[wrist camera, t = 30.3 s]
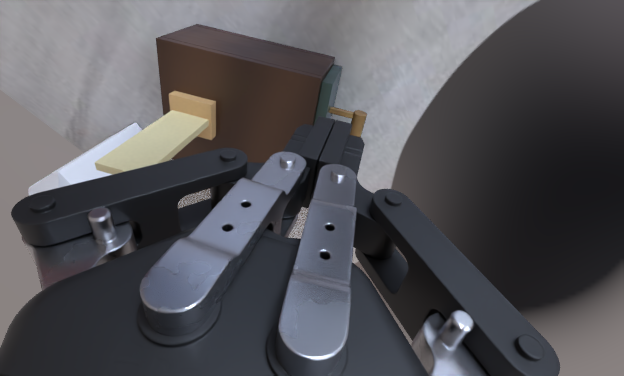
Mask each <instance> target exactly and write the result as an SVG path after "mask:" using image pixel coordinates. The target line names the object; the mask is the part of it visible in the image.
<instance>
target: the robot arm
mask: <svg viewBox="0 0 624 376" xmlns="http://www.w3.org/2000/svg"><path fill="white" fill-rule="evenodd" d="M351 128H352V124H350V123H346V122H342V121H338V120H336V122H335V120H333V119H329V118H325V117H321V116H319V117H318V119H317V120H316V122H315V124H314V126H312V125H307V124H304V125H302V126H300V127H298V128H297V129H296V131H295V132H294V134H293V135H292V137H291V139H290V140H289V142H288V143H287V145H286V147H285V148H284V150H283V151H282V152H278V153H275V154H273V155H272V156H271V157H270V158H269V159H268V160H267V161H266V163H253V162H248V158H247V155H246V154H245V153H244V152H243V151H241V150H238V149H235V148H220V149H216V150H212V151H208V152H203V153H199V154H195V155H191V156H187V157H183V158H179V159H175V160H171V161H166V162H162V163H158V164H154V165H150V166H146V167H142V168H138V169H134V170H129V171H125V172H121V173H117V174H113V175H109V176H105V177H101V178H97V179H92V180H88V181H84V182H80V183H76V184H72V185H68V186H64V187H60V188H55V189H51V190H47V191H43V192H39V193H36V194H33V195H30V196H28V197H26V198H24V199H22V200H21V201H19V202H18V203H17V204H16V205H15V206H14V207H13V209H12V212H11V215H12V217H13V220H14V221H15V223H16V225H17V227H18V229H19V231H20V233H21V235H22V240H23V242H24V244H25V246H26V248H27V250H28V251H29V253H30V255H31V257H32V259H33V261H34V262H35V264H36V266H37V269H38V274H39V279H40V283H41V288H42V291H41V292H40V293H38V294H37V295H36V296H34V297H33V298H32V299H31V300H30V301H29V302H28V303H27V304H26V305H25V306H24V307H23V308H22V309H21V310H20V311H19V312H18V314H17V315H16V316H15V318H14V319H13V321H12V323H11V324H10V326H9V328H8V331H7V333H6V335H5V338H4V340H3V343H2V345H1V348H0V376H558V374H559V371H560V363H559V360H558V357H557V355H556V353H555V351H554V349H553V348H552V347H551V345H550V344H549V343H548V342H547V341H546V339H545V338H544V337H543V336H541V334H540V333H539V332H538V331H537V330H536V329H535V328H534V327H533V326H532V325H531V324H530V323H529V322H528V321H527V320H526V319H525V318H524V317H523V316H522V315H521V314H520V313H519V312H518V311H517V309H516V308H515V307H514V306H513V305H511V303H510V302H509V301H508V300H507V299H506V298H505V297H504V296H503V295H502V294H501V293H500V292H499V291H498V290H497V289H496V288H495V287H494V286H493V285H492V284H491V283H490V282H489V281H488V280H487V279H486V277H485V276H484V275H483V274H482V273H481V272H480V271H478V269H477V268H476V267H475V266H474V265H473V264H472V263H471V262H470V261H469V260H468V259H467V258H466V257H465V256H464V255H463V254H462V253H461V252H460V251H459V250H458V249H457V248H456V247H455V245H453V243H452V242H451V241H450V240H449V239H448V238H447V237H446V236H445V235H444V234H443V233H442V232H441V231H440V230H439V229H438V228H437V227H436V226H435V225H434V224H433V223H432V222H431V221H430V220H429V219H428V218H427V217H426V216H425V215H424V213H423V212H422V211H420V209H419V208H418V207H417V206H416V205H415V204H414V203H413V202H412V201H411V200H410V199H409V198H408V197H407V196H406V195H404V194H402V193H401V192H398V191H395V190H392V189H381V190H378V191H376V192H375V193H374V194H373V193H371V192H369V191H368V190H366V189H364V188H363V187H362V186H361V185H360V184H359V182H358V180H357V174H358V170H359V165H360V161H361V157H362V153H363V148H364V142H363V140H362V138H361V137H357V136H353V135H350V132H351ZM208 188H210V191H211V198H210V199H207V200H204V201H201V202H198V203H195V204H191V205H188V206H185V207H182V208H179V209H178V202H179V201H180V199H181V198H183V197H184V196H186V195H189V194H192V193H195V192H199V191H202V190H205V189H208ZM309 205H310V207H309ZM301 207H305V208H309V211H308V214H307V218H306V222H305V226H304V230H303V233H302V237H301V239H297V238H288V236H289V234H290V232H291V230H292V229H293V227H294V225H295V223H296V221H297V218H298V213H299V212H300V210H301ZM396 246H397V247H398V249H399V250H400V251H401V252H402V253H403V255H404V256H405V258H406V260H407V262H406V261H405V260H404V258H403V257H402V256H401V255H400V253H399V252H398V251H397V250H396ZM353 247H354V248H356V250H355V254H356V257H357V259H358V260H359V262H360V263H361V265H362V266H363V268H364V269H365V271H366V272H367V274H368V275H369V277H370V278H371V280H372V281H373V283H374V284H375V286H376V287H377V289H378V290H379V292H380V293H381V294H382V296H383V297H384V299H385V300H386V302H387V303H388V305H389V306H390V308H391V309H392V311H393V312H394V314H395V315H396V317H397V318H398V320H399V321H400V323H401V324H402V325H403V327H404V329H405V330H406V332H407V333H408V335H409V336H410V338H411V339H412V341H413V342H412V345H410V344H409V342H408V340H407V339H406V337H405V336H404V334H403V332H402V331H401V329H400V328H399V326H398V324H397V323H396V321H395V320H394V318H393V316H392V315H391V313H390V311H389V310H388V308H387V307H386V305H385V303H384V302H383V300H382V299H381V297H380V295H379V294H378V292H377V290H376V289H375V287H374V286H373V284H372V282H371V281H370V279H369V278H368V277H367V276H366V274H364V272H363V271H362V270H361V269H360V268H358V267H357V266H356V265H355V264H354V263H352V257H353Z"/></svg>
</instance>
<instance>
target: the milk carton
mask: <svg viewBox="0 0 624 376" xmlns="http://www.w3.org/2000/svg"><path fill="white" fill-rule="evenodd" d="M140 131H142V129H141V128H140V127H139V125H138V124H137V123H136V122H135V123H133V124H131V125H130V126H128V127H126V128H124V129H123V130H121V131H119V132H118V133H116V134H114V135H112V136H111V137H109V138H107V139H106V140H104V141H103V142H101V143H99V144H98V145H96V146H95V147H93V148H91V149H90V150H88V151H87V152H85V153H83V154H82V155H80V156H78V157H77V158H75V159H74V160H72V161H70V162H69V163H68V164H66V165H64V166H62V167H61V168H59V169H58V170H56V171H54V172H53V173H51V174H50V175H48V176H46V177H45V178H43V179H41V180H40V181H38V182H37V183H35V184H33V185H32V186H30V187H29V196H30V195H33V194H36V193H39V192H43V191H47V190H51V189H55V188H60V187H64V186H68V185H72V184H76V183H80V182H84V181H88V180H92V179H97V178H101V177H105V176H109V175H113V174H109V173H105V172H102V171H98V170H96V166H95V162H96V161H97V160H99V159H100V158H102V157H103V156H105V155H106V154H108V153H109V152H111V151H112V150H114V149H115V148H117V147H118V146H120V145H121V144H123V143H124V142H126V141H127V140H128V139H130V138H131V137H133V136H134V135H136V134H137V133H139V132H140Z"/></svg>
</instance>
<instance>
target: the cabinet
mask: <svg viewBox="0 0 624 376" xmlns="http://www.w3.org/2000/svg"><path fill="white" fill-rule="evenodd" d="M156 44H157V54H158V64H159V74H160V84H161V95H162V105H163V115H166V114H167V113H168V112H170V103H169V94H170V93H171V92H173V91H178V92H182V93H186V94H189V95H193V96H197V97H201V98H205V99H209V100H213V101H216V136H215V137H214V138H213V139H212V140H209V139H205V138H202V137H198V136H196V137H195V138H194V139H193V140H192V141H191V142H190V143H189V144H187V145H186V146H185V147H184V148H183V149H182V150H181V151H179V152H178V153H177V154H176V155H175V156H174V157H173V158H171V159H174V160H175V159H179V158H183V157H187V156H191V155H195V154H199V153H203V152H208V151H212V150H216V149H220V148H235V149H238V150H241V151H243V152H244V153H245V154H246V155H247V158H248V162H253V163H266V161H267V160H268V159H269V158H270V157H271V156H272V155H273V154H275V153H278V152H282V151H283V150H284V148H285V147H286V145H287V143H288V142H289V140H290V139H291V137H292V135H293V134H294V132H295V131H296V129H297V128H298V127H300V126H302V125H304V124H307V125H312V126H313V125H314V120H315V114H316V109H317V104H318V99H319V93H320V88H321V83H322V81H323V79H324V78H325V76H326V75H327V73H328V72H329V70H330V68H331V67H332V65H334V60H335V57H332V56H328V55H323V54H319V53H315V52H311V51H307V50H303V49H299V48H294V47H290V46H286V45H282V44H278V43H274V42H269V41H265V40H261V39H257V38H253V37H249V36H245V35H240V34H236V33H232V32H228V31H224V30H220V29H216V28H211V27H207V26H203V25H199V24H196V25H193V26H190V27H187V28H184V29H181V30H178V31H175V32H173V33H170V34H167V35H164V36H161V37H158V38H156Z"/></svg>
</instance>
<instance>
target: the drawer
mask: <svg viewBox="0 0 624 376" xmlns="http://www.w3.org/2000/svg"><path fill="white" fill-rule="evenodd" d="M341 71H342V67H341V66H337V65H332V67H331V68H330V70H329V72H328V73H327V75H326V76H325V78H324V79H323V81H322V83H321V88H320V93H319V99H318V104H317V109H316V114H315V120H314V124H315V122H316V120H317V119H318V117H319V116H321V117H325V118H329V119H331V117H332V114H336V115H340V116H344V117H348V118H352V117H353V118H352V121H351V124H352V128H351V132H350V135H353V136H357V137H361V134H362V130H363V127H364V123H365V120H366V116H367V114H366V113H365V112H363V111H360V110H356V111H354V112H351V111H347V110H343V109H339V108H335V107H334V103H335V99H336V94H337V90H338V85H339V81H340V76H341ZM313 126H314V125H313Z"/></svg>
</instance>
